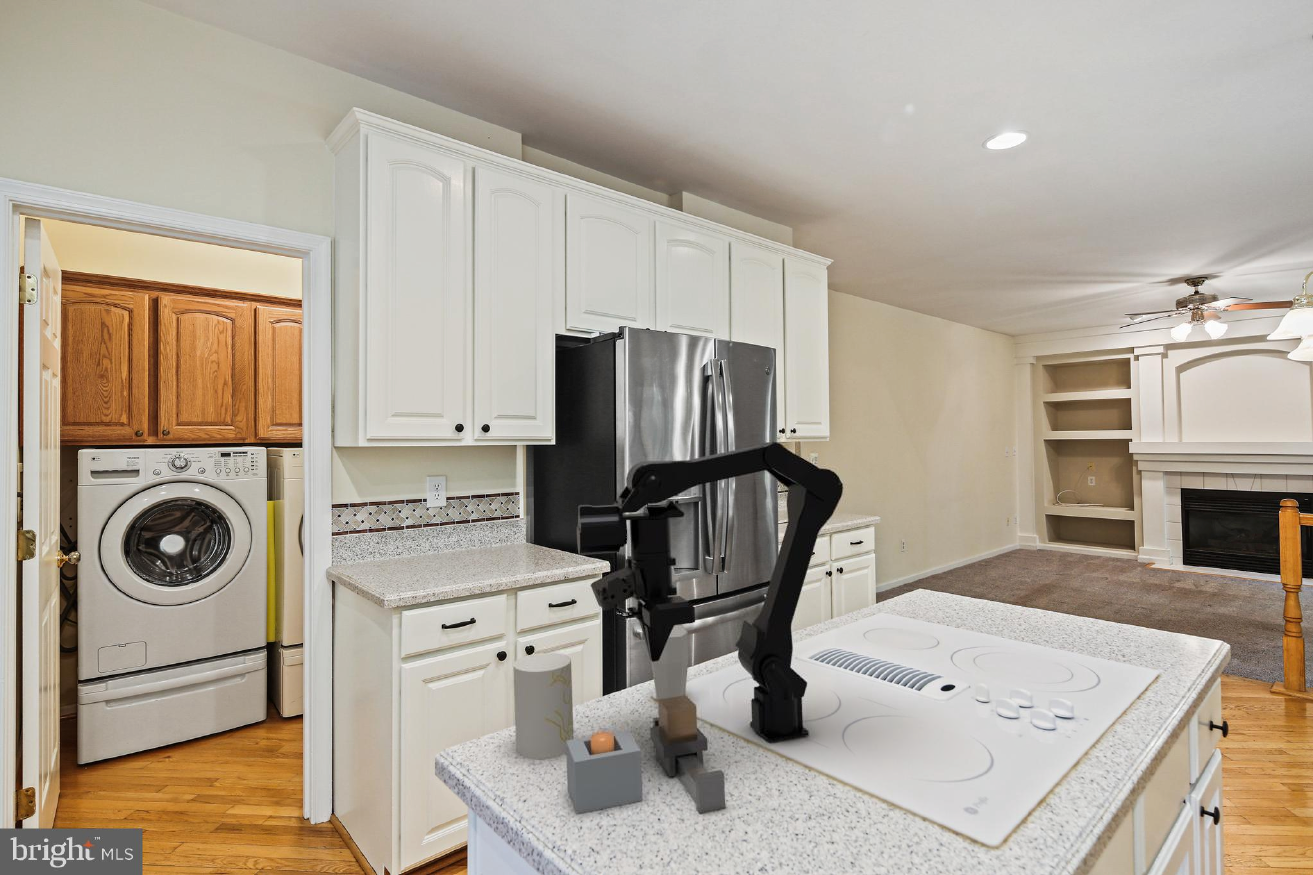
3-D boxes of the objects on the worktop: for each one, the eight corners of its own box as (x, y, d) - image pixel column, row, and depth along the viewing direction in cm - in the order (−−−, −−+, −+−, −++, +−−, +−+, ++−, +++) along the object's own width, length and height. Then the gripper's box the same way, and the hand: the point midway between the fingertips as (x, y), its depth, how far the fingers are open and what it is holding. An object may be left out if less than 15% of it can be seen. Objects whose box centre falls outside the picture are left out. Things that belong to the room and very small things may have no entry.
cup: (562, 761, 90) (559, 672, 90) (506, 757, 91) (503, 670, 92) (581, 734, 98) (578, 653, 98) (529, 731, 99) (526, 652, 99)
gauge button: (611, 758, 83) (610, 730, 83) (617, 769, 80) (616, 739, 80) (589, 762, 82) (588, 733, 82) (594, 773, 79) (593, 743, 79)
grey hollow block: (629, 776, 85) (627, 730, 85) (642, 800, 79) (640, 750, 79) (567, 788, 82) (565, 740, 83) (576, 813, 77) (574, 762, 77)
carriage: (692, 748, 91) (690, 691, 92) (708, 768, 86) (706, 707, 86) (650, 756, 90) (648, 697, 90) (664, 777, 84) (662, 714, 84)
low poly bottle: (654, 692, 113) (650, 564, 113) (691, 693, 112) (687, 563, 113) (649, 707, 107) (644, 571, 107) (688, 708, 106) (683, 571, 106)
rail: (675, 742, 94) (674, 714, 94) (725, 808, 77) (724, 773, 77) (653, 746, 93) (652, 718, 93) (699, 813, 76) (698, 778, 76)
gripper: (582, 545, 100) (585, 648, 100) (610, 566, 82) (614, 692, 82) (652, 539, 103) (655, 639, 103) (694, 558, 86) (698, 679, 85)
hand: (654, 660), depth 93 cm, fingers closed
